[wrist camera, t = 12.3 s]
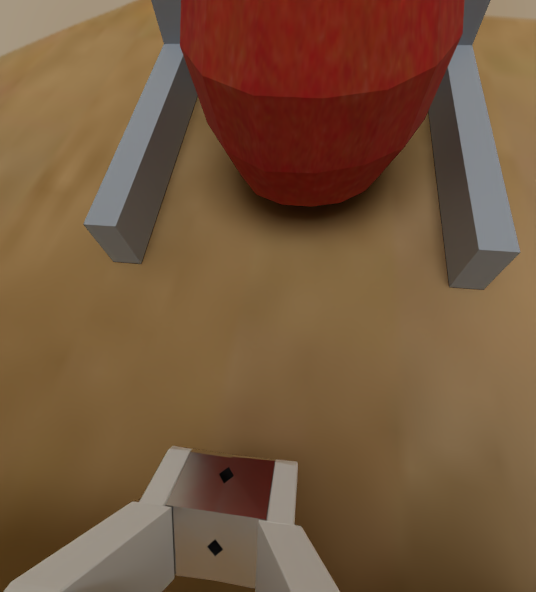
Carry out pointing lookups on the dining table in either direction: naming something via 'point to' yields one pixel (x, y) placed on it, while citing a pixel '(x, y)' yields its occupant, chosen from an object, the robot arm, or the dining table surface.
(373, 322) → the dining table surface
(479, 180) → the frame
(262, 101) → the apple
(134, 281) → the dining table surface
